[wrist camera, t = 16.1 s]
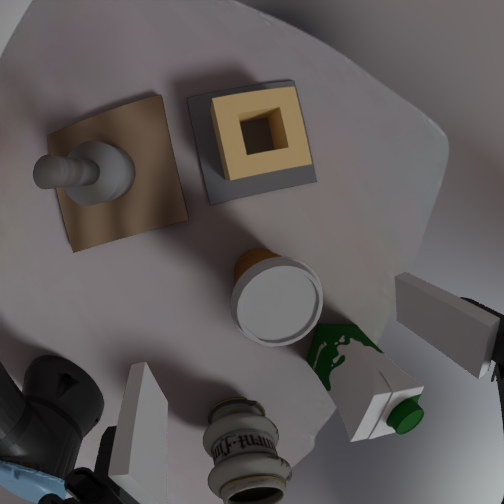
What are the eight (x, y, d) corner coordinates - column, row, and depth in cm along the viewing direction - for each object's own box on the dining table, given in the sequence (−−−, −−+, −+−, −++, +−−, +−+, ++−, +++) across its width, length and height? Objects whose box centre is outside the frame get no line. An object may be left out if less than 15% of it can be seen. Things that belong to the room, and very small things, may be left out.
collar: (225, 180, 36) (230, 180, 30) (210, 111, 33) (212, 98, 27) (295, 166, 37) (312, 164, 31) (280, 99, 34) (294, 86, 28)
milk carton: (347, 364, 46) (408, 442, 27) (299, 366, 45) (350, 458, 25) (362, 319, 45) (440, 390, 25) (312, 317, 43) (380, 403, 24)
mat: (210, 204, 36) (210, 205, 36) (186, 98, 33) (186, 97, 32) (315, 181, 38) (316, 181, 38) (293, 81, 34) (294, 80, 34)
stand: (77, 250, 35) (4, 300, 17) (52, 136, 30) (-33, 118, 13) (188, 218, 36) (178, 253, 19) (162, 97, 32) (133, 34, 15)
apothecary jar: (282, 400, 46) (316, 481, 29) (253, 442, 48) (273, 518, 30) (216, 384, 43) (229, 476, 26) (192, 430, 45) (196, 513, 27)
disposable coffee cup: (214, 245, 38) (221, 274, 26) (286, 229, 39) (321, 250, 27) (230, 311, 40) (243, 360, 29) (297, 294, 41) (330, 335, 30)
